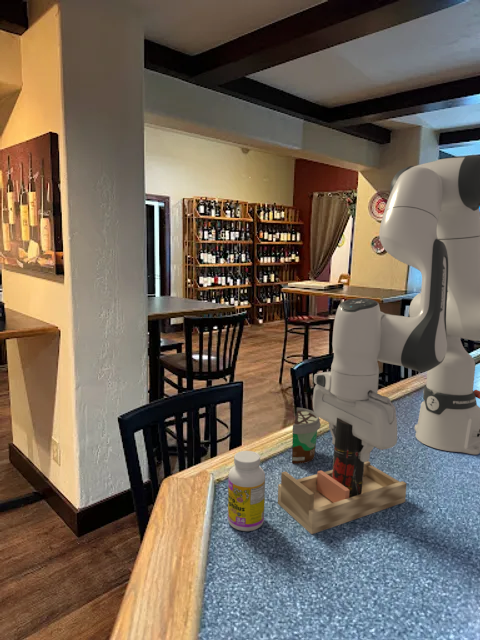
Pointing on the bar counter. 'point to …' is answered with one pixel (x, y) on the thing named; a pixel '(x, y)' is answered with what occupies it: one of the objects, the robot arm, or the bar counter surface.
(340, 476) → the deodorant
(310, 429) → the food container
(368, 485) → the tray
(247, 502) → the supplement bottle
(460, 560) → the bar counter surface
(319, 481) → the plate
